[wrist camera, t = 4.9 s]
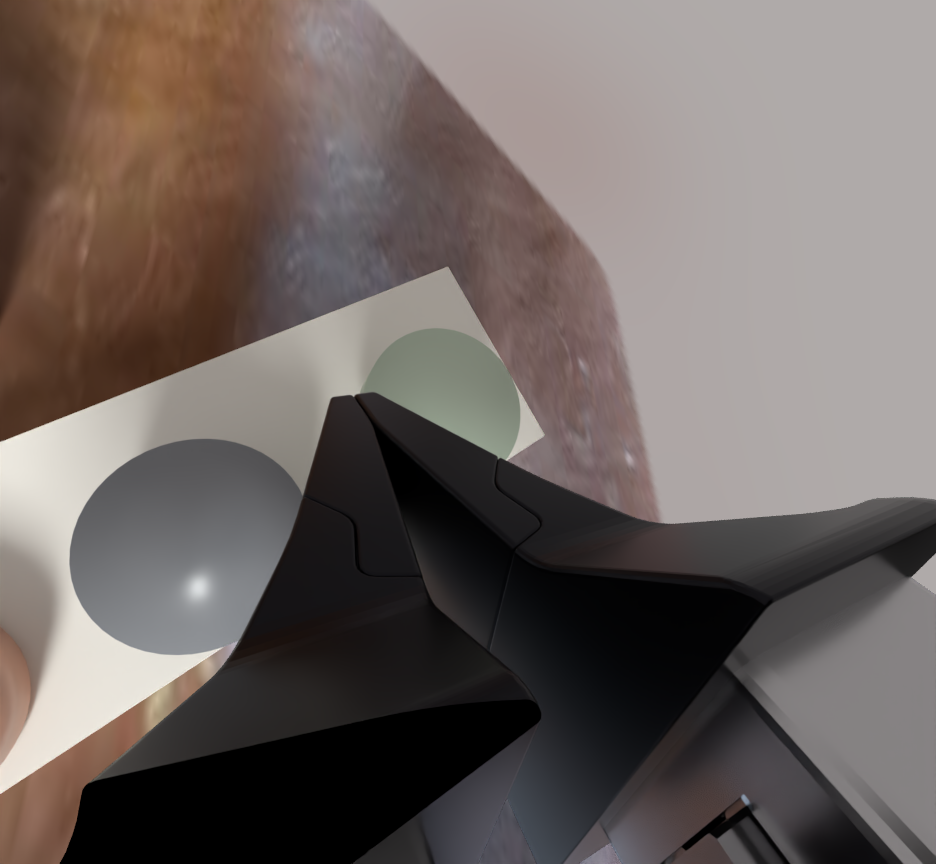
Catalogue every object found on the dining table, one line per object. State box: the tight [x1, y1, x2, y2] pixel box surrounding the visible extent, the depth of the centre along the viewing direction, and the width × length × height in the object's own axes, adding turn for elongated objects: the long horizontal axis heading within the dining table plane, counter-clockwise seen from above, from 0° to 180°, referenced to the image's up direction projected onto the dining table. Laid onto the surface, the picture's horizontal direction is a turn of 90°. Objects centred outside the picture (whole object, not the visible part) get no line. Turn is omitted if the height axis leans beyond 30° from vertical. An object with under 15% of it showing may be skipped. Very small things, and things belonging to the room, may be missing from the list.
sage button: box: [360, 328, 520, 460], centre depth 13 cm, size 4×4×2 cm
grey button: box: [69, 439, 303, 655], centre depth 10 cm, size 4×4×2 cm
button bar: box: [0, 267, 545, 794], centre depth 16 cm, size 7×20×8 cm, turn 122°
